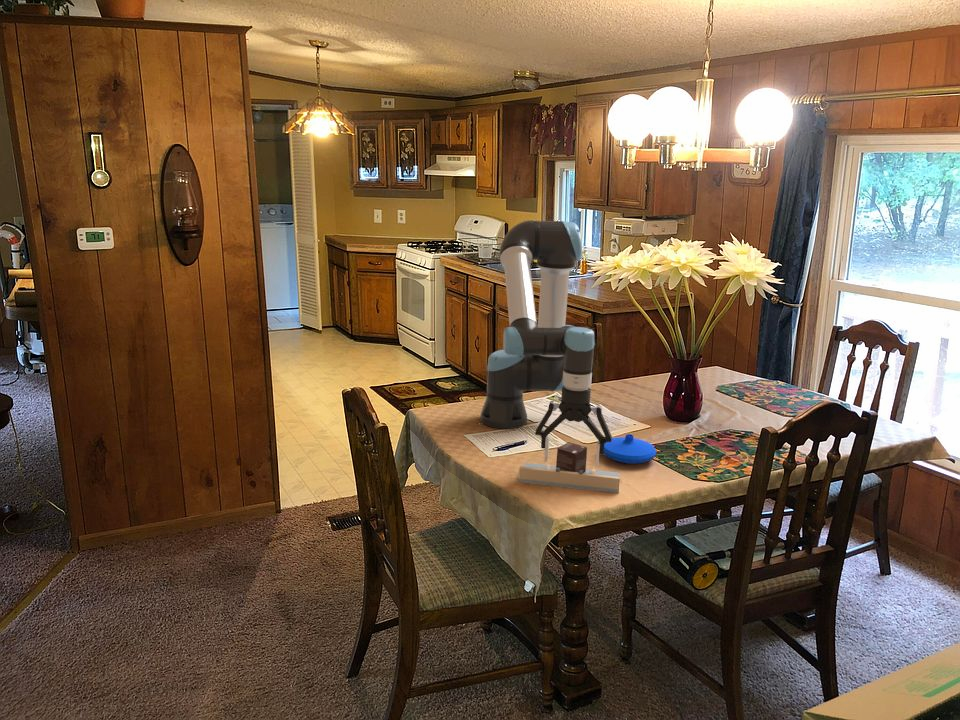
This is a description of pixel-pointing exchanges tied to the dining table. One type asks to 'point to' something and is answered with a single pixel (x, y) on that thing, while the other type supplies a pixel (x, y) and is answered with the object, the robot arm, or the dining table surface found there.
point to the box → (571, 457)
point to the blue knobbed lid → (629, 450)
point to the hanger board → (569, 478)
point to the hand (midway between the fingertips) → (571, 462)
